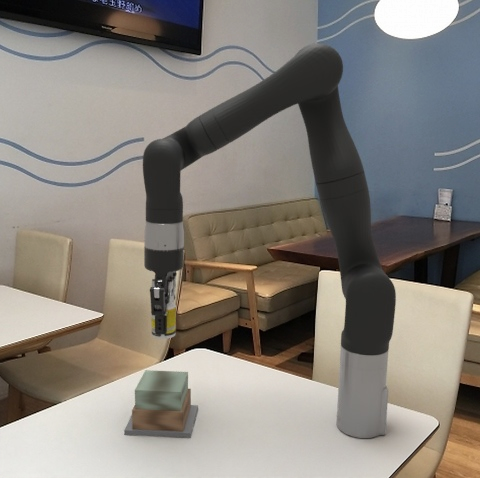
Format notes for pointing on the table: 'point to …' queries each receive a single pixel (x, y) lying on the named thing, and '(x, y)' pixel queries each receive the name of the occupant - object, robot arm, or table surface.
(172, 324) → the supplement bottle
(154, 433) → the baseplate
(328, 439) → the table surface
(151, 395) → the brick tower
